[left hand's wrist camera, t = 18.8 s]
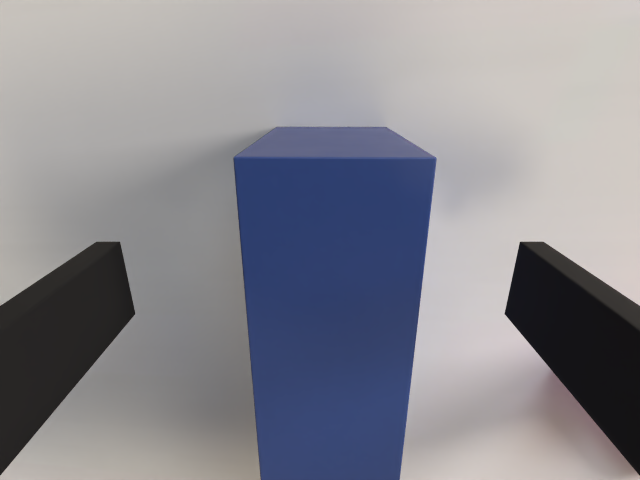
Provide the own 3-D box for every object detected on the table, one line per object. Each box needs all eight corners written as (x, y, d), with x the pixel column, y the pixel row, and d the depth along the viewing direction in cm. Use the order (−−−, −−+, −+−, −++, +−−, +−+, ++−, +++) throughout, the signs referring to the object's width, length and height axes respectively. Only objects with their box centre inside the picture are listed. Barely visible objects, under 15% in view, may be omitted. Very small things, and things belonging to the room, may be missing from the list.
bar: (276, 126, 18) (232, 156, 10) (387, 127, 18) (437, 157, 10) (289, 454, 27) (272, 619, 18) (365, 456, 27) (383, 622, 18)
